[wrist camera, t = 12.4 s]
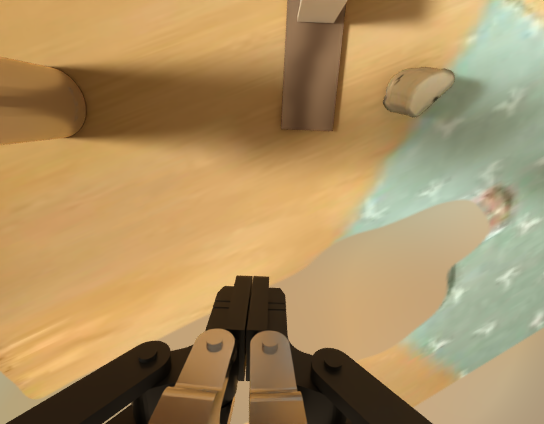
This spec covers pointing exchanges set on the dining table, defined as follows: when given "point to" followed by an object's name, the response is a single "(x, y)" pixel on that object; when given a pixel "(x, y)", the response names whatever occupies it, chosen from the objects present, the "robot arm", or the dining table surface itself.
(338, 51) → the rail
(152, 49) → the dining table surface
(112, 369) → the robot arm
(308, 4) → the grey square block
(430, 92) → the beige rounded block
